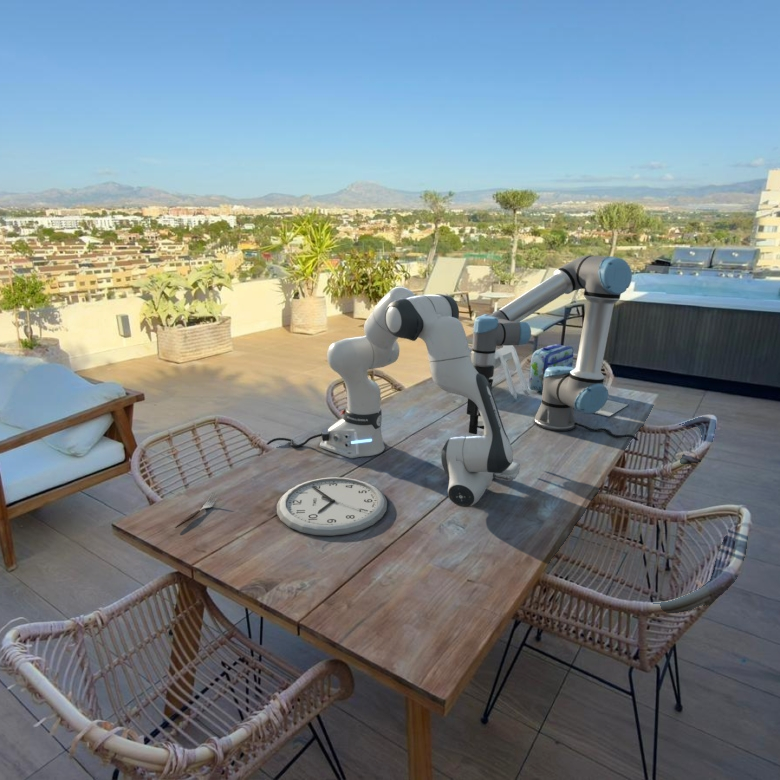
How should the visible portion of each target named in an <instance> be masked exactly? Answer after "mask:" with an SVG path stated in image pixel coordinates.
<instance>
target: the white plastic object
mask: <svg viewBox="0 0 780 780" xmlns="http://www.w3.org/2000/svg"><path fill="white" fill-rule="evenodd" d="M496 311H497V310H495V311H492V314H493V313H495V312H496ZM469 351H470V357H471V359H472V355H471V353H472V346H469ZM510 360H513V363H514V366H515V369H516V372H517V376H518V380H519V382H520V385H521V389H522V391H523V393H524V395H525V396H526V397H528V396H531V395H530V389H529V388H528V387H529V386H528V384H527V381H526V378H525V375H524V371H523V369H522V368H523V367H522V366H521V362H520V359H519V355H518V352H517V349H516V347H515V345H504V346H502V347H500V348H498V349H496V352H495V364H493V366H494V370H496V369H497V368H499V367H500V366H502V370H503V373H504V376H505V380H506V383H507V386H508V390H509V393H510V394H511V395H512V397H513V398H514V399H515V400H517V392H516V391H517V390H516V388H515V385H514V381H513V378H512V375H511V371H510V369H509V365H508V361H510Z"/></svg>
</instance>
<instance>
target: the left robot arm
mask: <svg viewBox="0 0 780 780" xmlns="http://www.w3.org/2000/svg"><path fill="white" fill-rule="evenodd" d="M459 317H460V309H459V305H458V303H457V301H456V300H455V299H454V297H452V296H449V295H447V294H441V293H436V294H420V295H415V293H414V292H413V291H412V290H410V289H409V288H407V287H403V286H397V287H393V288H392V289H390V290H389V291H388V292H387V293H386V294H384V296H382V298H381V299H380V300H379V301H378V302H377V304H376V305H375V307H374V308H373V309H372V311H371V312H370V313H369V316H368V317H367V318H366V320H365V321H364V324H363V333H364V334H365V335H363V336H356V337H348V338H347V337H346V338H343V339H340V340H337V341H335V342H332V343H331V344H330V345H329V346H328V349H327V351H326V352H327V353H326V359H327V364H328V365H329V367H330V368H331V369H332V370H333V371H334V372H335V373H336V374H338V375H339V376H340V377H341V379H342V380H343V383H344V385H345V389H346V403H347V407H345V408H343V410H342V411H340V416H342V418H340V419H339V420H337V421H336V422H335V423H333V424H332V425H331V426H330V427H328V428H321V429H320V433H319V434H314V435H312V436H309V437H308V438H306V440H305V441H302V442H301V443H299V444H294V440H293V439H292V438H286V437H276V438H273V439H271V440H269V441H268V442H266V444H265V445H267V446H269V445H270V444H272V443H273V442H276V441H285V442H286V441H287V442H290V447H292V448H300V447H303V446H304V445H307V443H309V442H310V441H311V440H313V439H316V438H319V437H321V441H320V443H319V448H320V449H323V450H326V451H329V452H331V453H335V454H337V455H341V456H343V457H346V458H349V459H356V458H359V457H371V456H375V455H376V456H377V455H379V454H381V453H382V452H383V451H384V450H385V449H386V447H385V444H384V440H383V434H382V421H383V416H382V408H381V393H382V392H381V388H380V385H379V384H378V383H377V382H375V381H374V380H372V379H369V376H368V371H369V370H374V369H380V368H384V367H387V366H390V365H392V364H394V363H396V362H397V361H398V359H399V356H400V345H399V343H398V339H403V340H404V339H405V340H409V341H412V342H416V340H417V339H418V338H419V339H421V340H422V341H423V342H424V343H425V346H426V349H427V350H426V351H427V360H428V366H429V371H430V375H431V379H432V381H433V382H434V384H436V385H437V387H439V388H440V389H442V390H444V391H445V392H447V393H451V394H453V395H454V394H455V395H457V396H460V397H464V398H466V399H467V400H468V399H470V400H472V401H473V402H474V403H475V404H476V405H477V407H478V410H479V412H480V415H481V418H482V421H483V424H484V427H485V430H486V434H487V435H484V434H482V435H481V434H479V435H461V436H450V437H449V438H448V439H447V440H446V441H445V443H444V445H443V447H442V449H441V454H440V455H441V456H440V459H441V465H442V468H443V471H444V473H445V474H446V476H447V478H448V486H447V495H448V498H449V501H451V502H452V503H453V504H455V506H458V507H460V508H461V507H462V508H468V507H472V506H473V505H475V504H476V503H478V502H479V500H481V498H482V496H484V493H485V492H486V490H487V488H488V487H489V486H490V484H491V483H492V481H493V479H497V480H501V481H507V482H511V481H513V480H516V478H517V477H518V475H519V474H520V469H521V463H520V462H519V461H518V460H514V452H513V451H514V450H513V448H512V444H511V442H510V439H509V437H508V434H507V433H506V432H507V431H506V430H505V427H504V424H503V421H502V418H501V414H500V412H499V409H498V405H497V402H496V399H495V397H494V394H493V391H491V388H490V386H489V383H488V381H487V379H486V378H485V376H484V375H482V374H479V373H478V372H477V370H476V369H475V367H474V366H473V364H472V361H471V357H470V351H469V347H470V345H469V341H468V337H467V334H466V332H465V328H464V325H463V323H462V322H461V320H460V318H459Z"/></svg>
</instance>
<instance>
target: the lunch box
mask: <svg viewBox="0 0 780 780" xmlns="http://www.w3.org/2000/svg"><path fill="white" fill-rule="evenodd" d="M530 359H531V360H530V366H529V377H528V379H529V380H528V387H529V390H531V391H536V392H541V393H542V391H543V381H544V374H545V370H546V369H547V368H549V367H556V366H565V367H573V363H574V347H572V346H568V345H562V344H551V345H547V346H545V347H541V348H539V349H536V350H534V352H533V353H532V355H531V358H530Z"/></svg>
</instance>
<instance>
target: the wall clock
mask: <svg viewBox="0 0 780 780" xmlns="http://www.w3.org/2000/svg"><path fill="white" fill-rule="evenodd" d="M387 509H388V500H387V498H386V496H385V494H384V493H383V492H382V491H381V490H380V489H379V488H377V487H376V486H374V485H372V484H371V483H369V482H365V481H362V480H359V479H355V478H349V477H338V476H337V477H335V476H333V477H332V476H331V477H322V478H317V479H312V480H307V481H305V482H302V483H299V484H297V485H295V486H293V487H292V488H290V489H288V490H287V491H286V492H285V493H284V494H283V495H281V496H280V498H279V499H278V502H277V503H276V515H277V517H278V518H279V520H280V521H281V522H282V523H283V524H285V525H286V526H287V527H288V528H290V529H293V530H295V531H297V532H299V533H303V534H308V535H312V536H327V537H328V536H329V537H331V536H332V537H333V536H342V535H350V534H352V533H356V532H361V531H363V530H366V529H368V528H369V527H372V526H373V525H375V524H376V523H378V522H379V521H380V520H381V519H382V518H383V517H384V516H385V514H386V512H387Z"/></svg>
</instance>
